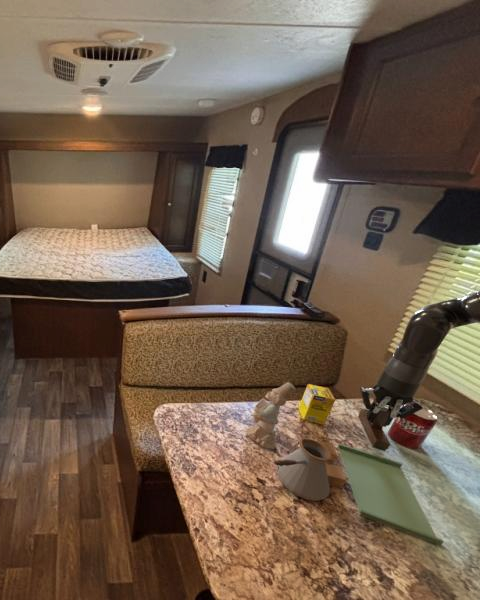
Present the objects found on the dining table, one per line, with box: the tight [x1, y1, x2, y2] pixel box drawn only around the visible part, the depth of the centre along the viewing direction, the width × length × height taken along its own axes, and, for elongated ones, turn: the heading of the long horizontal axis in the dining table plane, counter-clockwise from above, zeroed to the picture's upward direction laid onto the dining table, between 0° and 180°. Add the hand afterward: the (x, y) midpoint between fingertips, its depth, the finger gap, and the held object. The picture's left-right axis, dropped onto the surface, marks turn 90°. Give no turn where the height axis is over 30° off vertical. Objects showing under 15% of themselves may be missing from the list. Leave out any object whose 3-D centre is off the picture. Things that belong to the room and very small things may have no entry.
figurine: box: [245, 381, 297, 450], centre depth 91 cm, size 9×8×20 cm
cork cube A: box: [315, 439, 338, 464], centre depth 88 cm, size 4×4×4 cm
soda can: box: [386, 403, 438, 451], centre depth 93 cm, size 7×7×12 cm
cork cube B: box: [326, 463, 347, 489], centre depth 81 cm, size 4×4×4 cm
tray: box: [337, 443, 444, 546], centre depth 80 cm, size 14×22×2 cm, turn 154°
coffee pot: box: [267, 437, 332, 502], centre depth 76 cm, size 21×12×15 cm, turn 113°
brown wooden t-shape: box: [357, 406, 391, 452], centre depth 92 cm, size 3×14×9 cm, turn 154°
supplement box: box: [298, 383, 336, 426], centre depth 101 cm, size 6×6×11 cm
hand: (376, 422), depth 92 cm, fingers closed on brown wooden t-shape, 2 cm apart
